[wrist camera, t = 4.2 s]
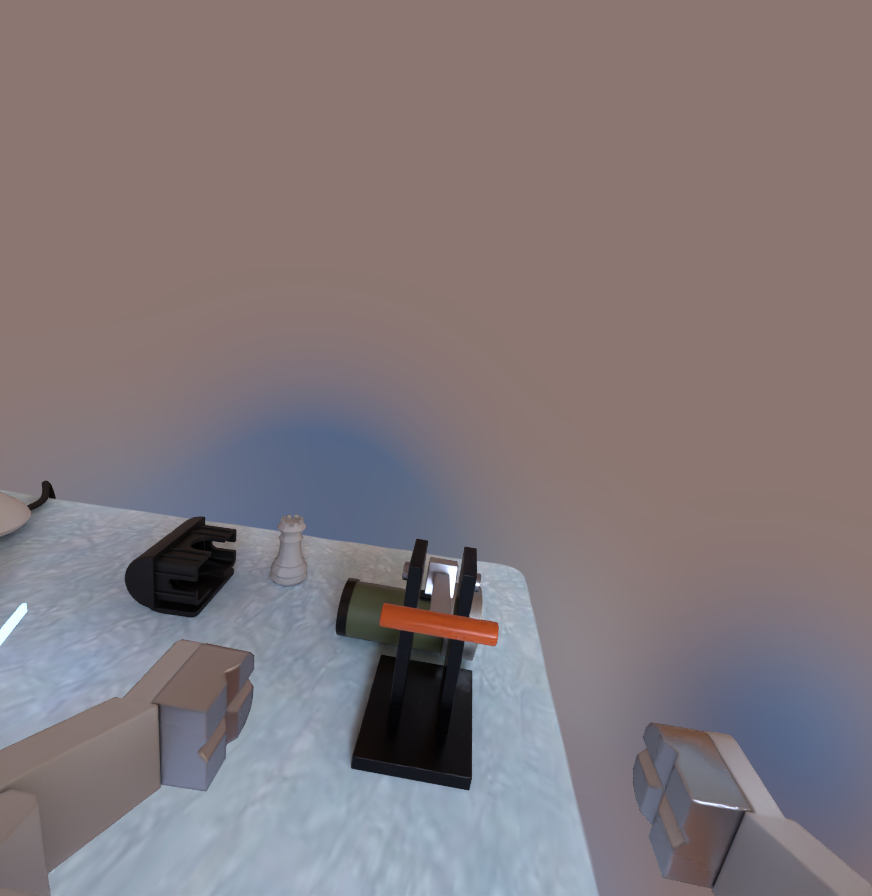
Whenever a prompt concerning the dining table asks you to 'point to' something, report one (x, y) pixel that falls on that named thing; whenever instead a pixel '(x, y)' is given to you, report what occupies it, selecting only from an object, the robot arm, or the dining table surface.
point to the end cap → (182, 569)
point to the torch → (364, 613)
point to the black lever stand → (422, 698)
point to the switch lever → (440, 611)
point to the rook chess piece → (289, 553)
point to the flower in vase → (12, 514)
